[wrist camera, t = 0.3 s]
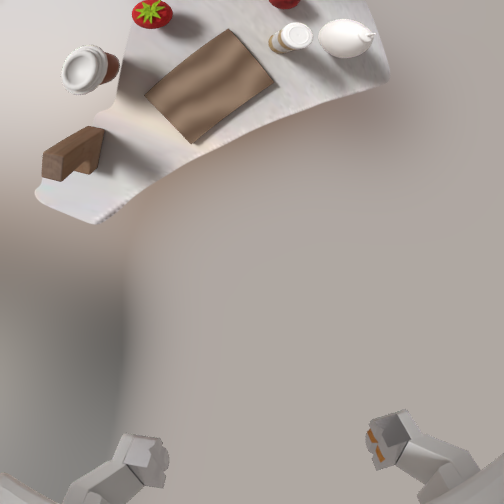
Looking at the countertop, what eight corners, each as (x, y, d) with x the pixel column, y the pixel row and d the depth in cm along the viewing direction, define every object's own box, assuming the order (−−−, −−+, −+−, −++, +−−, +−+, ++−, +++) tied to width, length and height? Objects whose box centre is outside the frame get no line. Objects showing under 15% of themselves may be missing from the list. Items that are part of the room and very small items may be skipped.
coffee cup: (116, 39, 34) (91, 33, 24) (133, 74, 39) (110, 75, 30) (79, 64, 35) (49, 66, 26) (95, 97, 40) (67, 106, 31)
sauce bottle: (327, 64, 42) (372, 66, 28) (303, 35, 38) (341, 22, 24) (354, 47, 40) (406, 45, 26) (331, 18, 36) (377, 3, 22)
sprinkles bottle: (292, 35, 38) (315, 25, 28) (290, 55, 41) (312, 51, 30) (268, 32, 38) (284, 19, 27) (266, 52, 40) (282, 46, 30)
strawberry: (149, 2, 30) (135, -11, 22) (183, 13, 33) (175, 0, 25) (134, 26, 33) (116, 18, 25) (167, 37, 36) (155, 30, 28)
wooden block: (97, 167, 50) (60, 207, 36) (81, 163, 48) (40, 201, 34) (105, 129, 45) (64, 156, 31) (87, 125, 44) (42, 151, 29)
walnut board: (145, 94, 43) (143, 95, 41) (228, 29, 37) (228, 28, 35) (191, 142, 50) (191, 144, 49) (272, 82, 44) (274, 82, 43)
